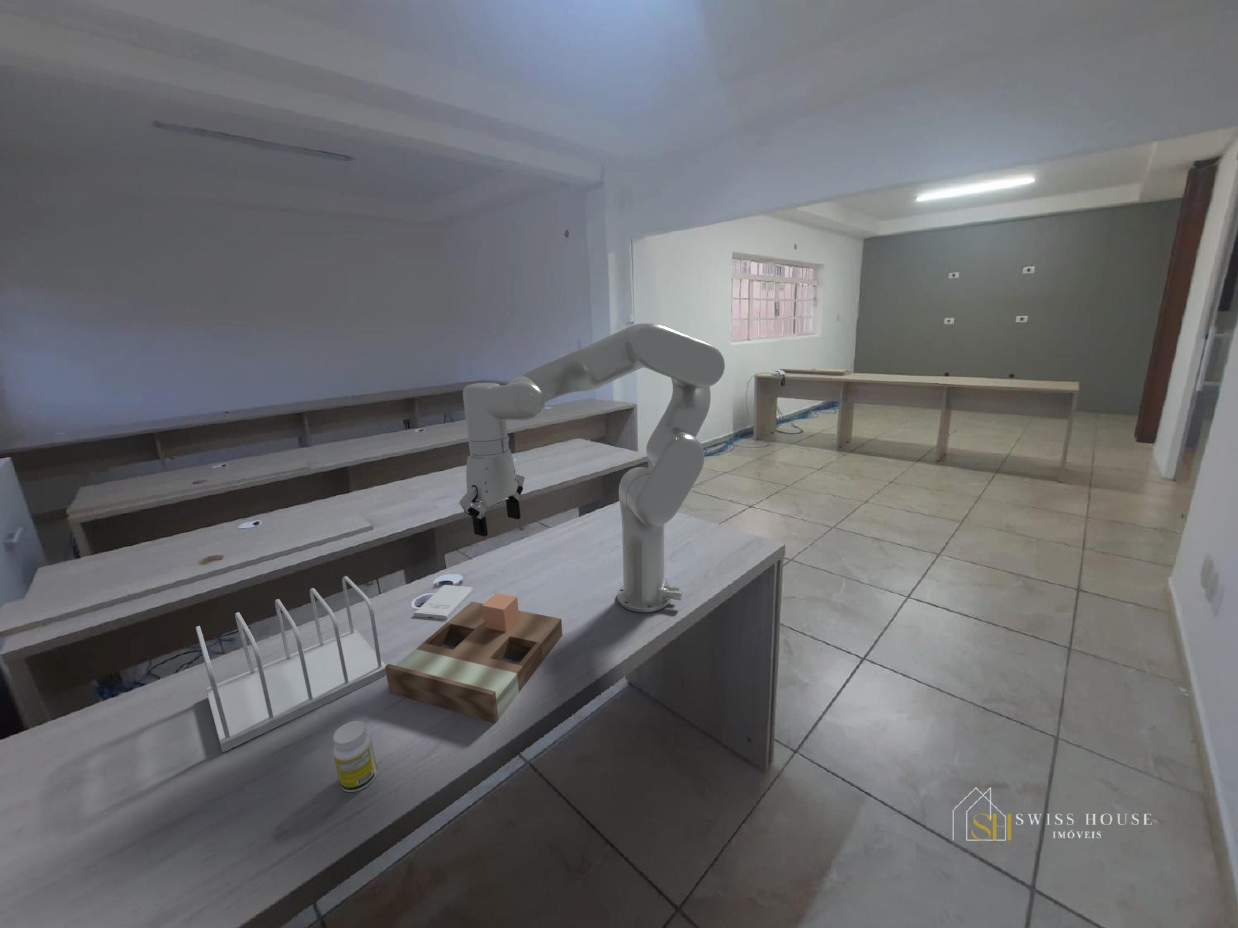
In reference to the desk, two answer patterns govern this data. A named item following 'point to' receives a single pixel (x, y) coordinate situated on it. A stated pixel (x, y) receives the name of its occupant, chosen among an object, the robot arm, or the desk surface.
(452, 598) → the external hard drive
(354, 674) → the file sorter
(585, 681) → the desk surface
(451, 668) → the box
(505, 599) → the block
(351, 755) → the supplement bottle
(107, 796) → the desk surface
